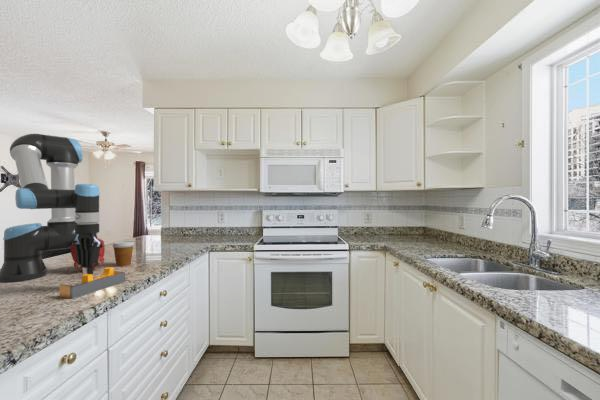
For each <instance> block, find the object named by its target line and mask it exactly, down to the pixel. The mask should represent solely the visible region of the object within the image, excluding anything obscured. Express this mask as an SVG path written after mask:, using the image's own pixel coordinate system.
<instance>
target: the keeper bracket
mask: <svg viewBox="0 0 600 400" xmlns="http://www.w3.org/2000/svg"><path fill="white" fill-rule="evenodd" d="M95 279H96V278H95ZM95 279H94V280H93V281H89V282H86V283H82V282H81V283H79V284H75V285H68V284H59V297H61V298H67V299H76V298H79V297H81V296H85V295H88V294H91V293H96V292H98V291H101V290H103V289H104V290H105V289H106V288H110V287H114V286H116V285H119V284H123V283H125V282H126V272H125V271H117V270H114V275H110V276H107V277H103V278H100V279H96V280H95Z"/></svg>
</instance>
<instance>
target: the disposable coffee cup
mask: <svg viewBox="0 0 600 400" xmlns="http://www.w3.org/2000/svg"><path fill="white" fill-rule="evenodd" d="M134 245H135V243H134V241H132V240H122V241H121V240H120V241H115V242H113V243H112V248H113V252H114V258H115V265H116V267H118V268H119V267H128V266H130V265H131V264H132V258H133V257H132V256H133V252H134V251H133V249H134Z"/></svg>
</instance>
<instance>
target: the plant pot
mask: <svg viewBox="0 0 600 400" xmlns="http://www.w3.org/2000/svg"><path fill="white" fill-rule="evenodd" d="M97 240H98V241H102V245H101V247H100V253H99V259H98V264H97V265H94V266H93V269H96V268H99V267H100V266H102V265H103V264H104V262H105V258H104V256H105V249H106V248H105V242H104V240H103V239H102V238H99V237H97ZM70 253H71V258H72V260H73V262H74V263H73V267H74V268H76V269H77V270H80V271H82V267H81V265H78V263H77V257H76V251H75V246H74V244H72V245H71V248H70Z"/></svg>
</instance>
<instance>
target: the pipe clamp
mask: <svg viewBox="0 0 600 400" xmlns="http://www.w3.org/2000/svg"><path fill="white" fill-rule="evenodd" d="M114 271H115V270H114V267H112V266H111V267H105V268H103V272H102V275H100V276H97V277H95V278H94V277H93V276H92V274H85V275H83V274H82V275H81V284H82V283H86V282H89V281H93V280H96V279H100V278H103V277H107V276H110V275H114Z"/></svg>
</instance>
